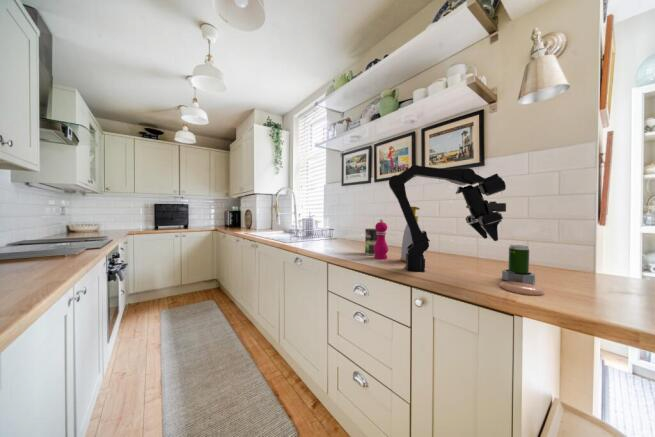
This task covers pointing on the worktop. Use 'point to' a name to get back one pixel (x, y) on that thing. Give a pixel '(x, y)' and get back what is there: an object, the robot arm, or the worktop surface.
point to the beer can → (518, 259)
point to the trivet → (522, 288)
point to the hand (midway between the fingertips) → (490, 239)
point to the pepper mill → (381, 241)
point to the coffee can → (370, 241)
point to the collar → (518, 277)
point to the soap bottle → (408, 237)
